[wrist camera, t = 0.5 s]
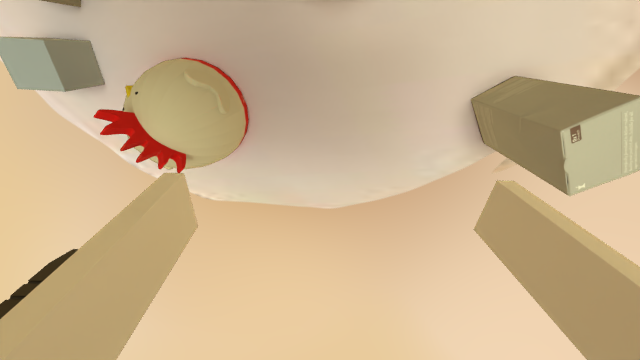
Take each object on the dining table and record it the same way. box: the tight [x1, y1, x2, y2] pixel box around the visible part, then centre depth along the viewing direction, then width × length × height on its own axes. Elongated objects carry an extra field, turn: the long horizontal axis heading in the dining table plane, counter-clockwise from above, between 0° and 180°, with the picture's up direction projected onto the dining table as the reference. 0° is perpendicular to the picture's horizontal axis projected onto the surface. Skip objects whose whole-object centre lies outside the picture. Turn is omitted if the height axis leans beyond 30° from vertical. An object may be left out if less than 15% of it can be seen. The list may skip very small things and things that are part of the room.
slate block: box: [0, 37, 105, 92], centre depth 28 cm, size 5×5×6 cm
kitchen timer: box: [94, 58, 249, 173], centre depth 28 cm, size 14×14×15 cm
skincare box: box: [471, 76, 640, 196], centre depth 29 cm, size 8×7×16 cm
